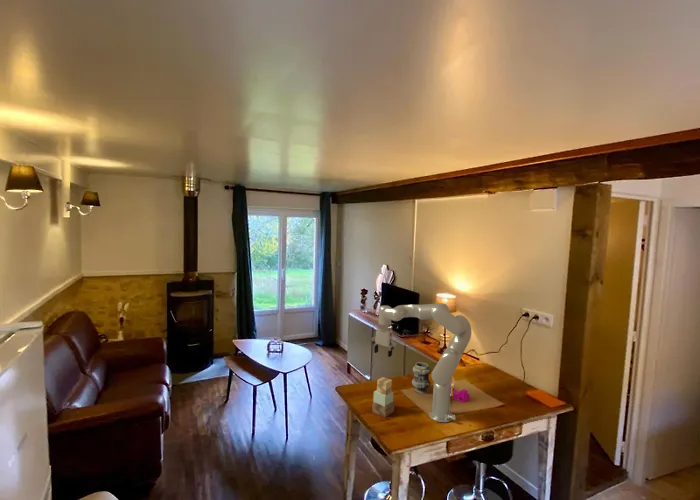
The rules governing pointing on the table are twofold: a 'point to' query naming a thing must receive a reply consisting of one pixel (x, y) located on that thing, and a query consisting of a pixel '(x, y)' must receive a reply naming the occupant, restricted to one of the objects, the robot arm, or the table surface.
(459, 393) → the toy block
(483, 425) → the table surface
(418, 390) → the apothecary jar
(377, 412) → the walnut base block
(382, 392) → the oak block
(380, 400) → the sage top block
